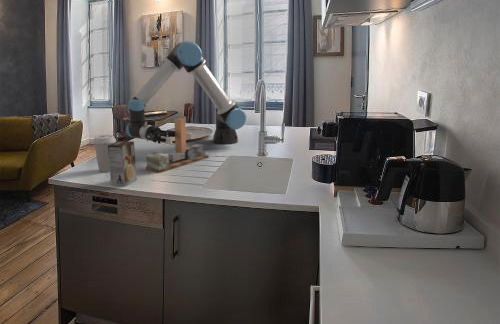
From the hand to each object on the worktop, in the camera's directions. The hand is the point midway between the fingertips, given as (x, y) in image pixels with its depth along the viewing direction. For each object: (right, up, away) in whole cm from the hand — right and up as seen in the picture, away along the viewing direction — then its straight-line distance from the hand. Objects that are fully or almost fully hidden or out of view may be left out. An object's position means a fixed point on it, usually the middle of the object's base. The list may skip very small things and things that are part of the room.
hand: (182, 138), depth 176 cm
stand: (-2, -12, +3) cm, 12 cm away
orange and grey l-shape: (0, -8, +6) cm, 10 cm away
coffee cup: (-31, -15, -10) cm, 36 cm away
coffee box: (-18, -19, -26) cm, 37 cm away
